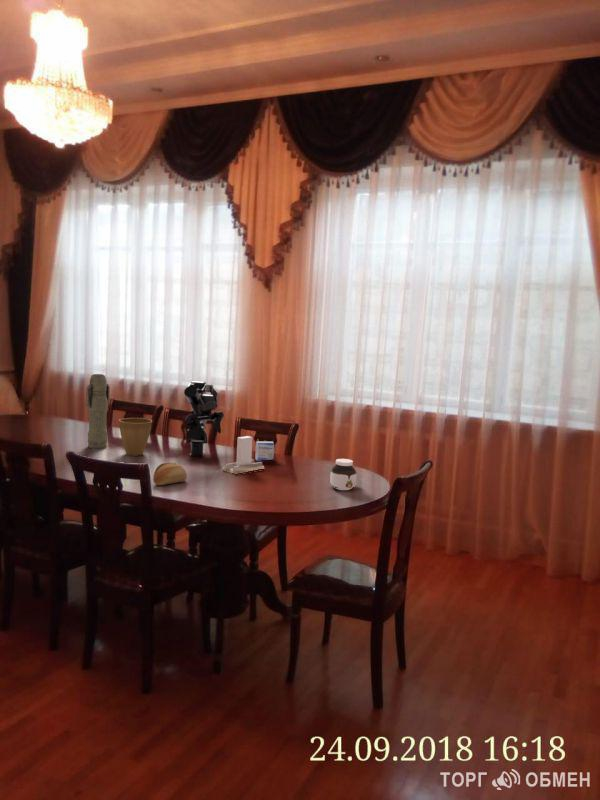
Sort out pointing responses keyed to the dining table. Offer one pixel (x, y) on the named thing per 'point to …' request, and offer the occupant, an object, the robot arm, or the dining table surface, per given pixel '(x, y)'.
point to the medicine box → (264, 450)
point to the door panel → (244, 450)
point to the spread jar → (343, 474)
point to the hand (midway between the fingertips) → (212, 433)
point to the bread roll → (169, 474)
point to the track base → (243, 467)
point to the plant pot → (135, 434)
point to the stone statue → (97, 410)
